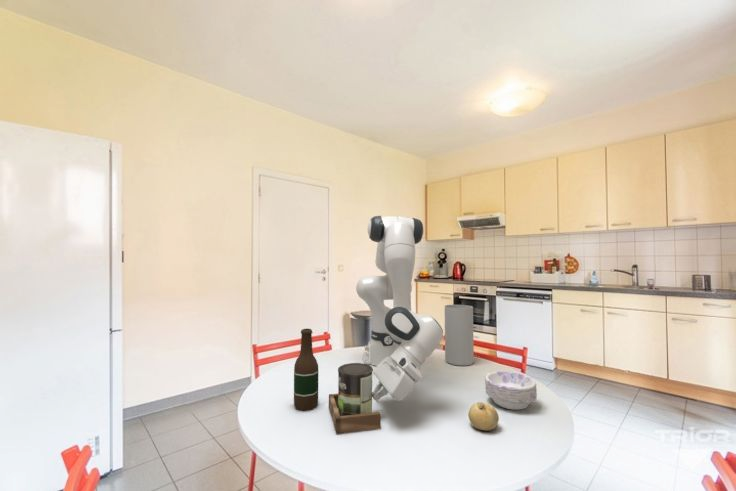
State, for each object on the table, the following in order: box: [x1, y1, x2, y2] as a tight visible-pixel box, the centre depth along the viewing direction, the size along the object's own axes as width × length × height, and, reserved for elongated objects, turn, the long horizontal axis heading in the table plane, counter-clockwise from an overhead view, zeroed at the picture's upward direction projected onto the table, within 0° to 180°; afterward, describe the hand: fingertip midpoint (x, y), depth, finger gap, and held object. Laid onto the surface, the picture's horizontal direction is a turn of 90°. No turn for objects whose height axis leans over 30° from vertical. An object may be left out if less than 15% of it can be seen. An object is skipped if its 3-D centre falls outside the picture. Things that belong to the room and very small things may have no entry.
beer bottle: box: [293, 328, 319, 412], centre depth 104 cm, size 8×8×24 cm
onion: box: [467, 401, 500, 431], centre depth 91 cm, size 8×8×7 cm
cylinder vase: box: [444, 304, 475, 367], centre depth 149 cm, size 12×12×25 cm
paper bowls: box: [484, 370, 538, 411], centre depth 105 cm, size 15×15×8 cm
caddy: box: [328, 393, 382, 435], centre depth 96 cm, size 16×12×4 cm
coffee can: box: [337, 362, 374, 416], centre depth 97 cm, size 10×10×14 cm
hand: (373, 398), depth 98 cm, fingers closed, pressing on coffee can
